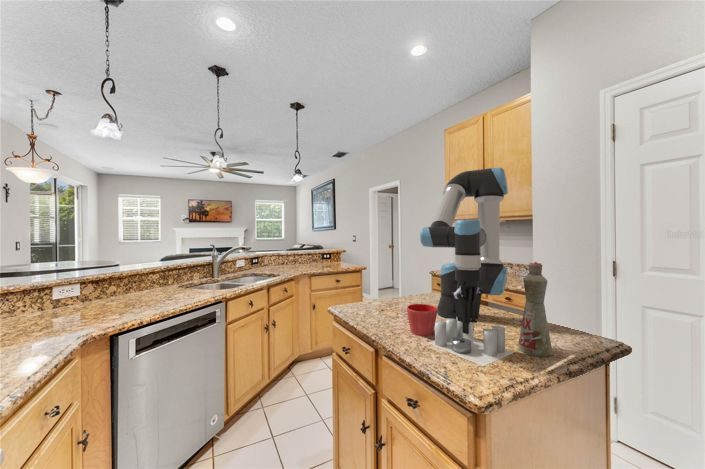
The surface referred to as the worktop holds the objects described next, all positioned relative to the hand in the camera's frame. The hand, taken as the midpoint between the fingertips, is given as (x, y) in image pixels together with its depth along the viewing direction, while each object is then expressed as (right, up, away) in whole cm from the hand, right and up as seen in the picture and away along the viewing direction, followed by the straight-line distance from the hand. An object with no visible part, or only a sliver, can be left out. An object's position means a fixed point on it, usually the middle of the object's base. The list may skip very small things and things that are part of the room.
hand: (468, 342), depth 90 cm
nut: (-3, -2, -2) cm, 4 cm away
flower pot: (-11, -2, +14) cm, 18 cm away
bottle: (+19, -2, -3) cm, 20 cm away
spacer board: (0, -2, 0) cm, 2 cm away
